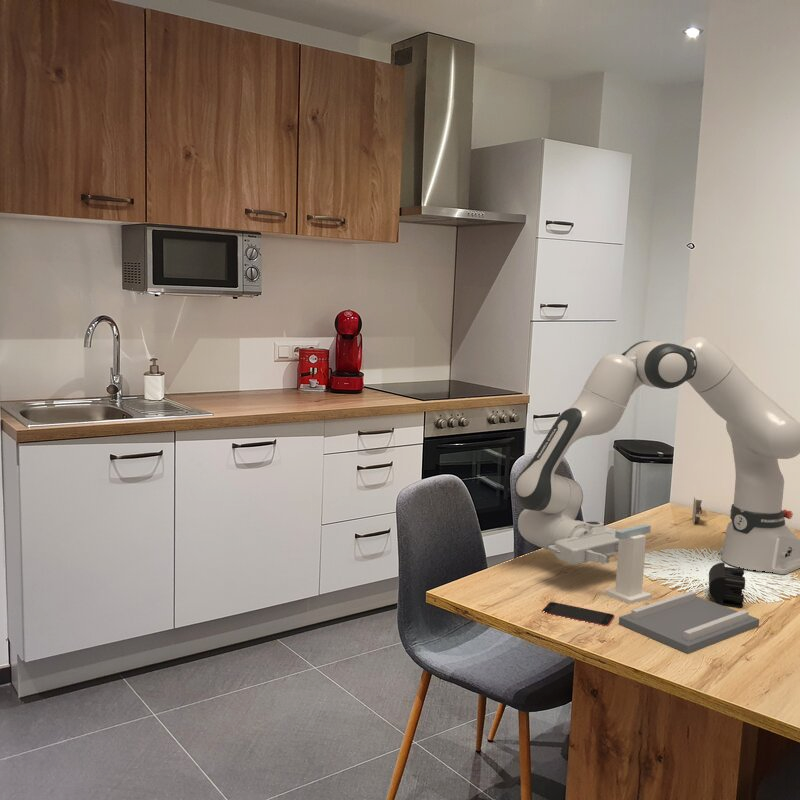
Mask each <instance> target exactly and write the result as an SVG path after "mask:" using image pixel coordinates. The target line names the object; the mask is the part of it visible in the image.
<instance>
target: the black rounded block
mask: <svg viewBox="0 0 800 800" xmlns="http://www.w3.org/2000/svg"><path fill="white" fill-rule="evenodd" d="M725 565H726V564H725V563H724V562H719V563H715V564H713V565H712V567H711V568H710V569H709V571H708V591H709V595H710V597H711V599H713V600H714V601H715V603H717V604H720V605H722V606H725V607H728V608H735V609H736V608H737V609H743V608H744V605H743V604H744V602H745V601H744V600H745V599H744V598H745V595H744V594H743V590H744V591H745V589H746V578H745V576H744V575H745V569H743V568H739V567H729V566H725Z"/></svg>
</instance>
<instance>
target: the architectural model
mask: <svg viewBox="0 0 800 800" xmlns="http://www.w3.org/2000/svg"><path fill="white" fill-rule="evenodd" d="M702 501H703V500H702V499H697V498H696V497H695V496H694V497H693V506H692V507H693V508H692V517H691V521H692V525H693V526H695V523H699V522H700V520H701V518H708V514H707V511H706V510H703V509H702Z"/></svg>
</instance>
